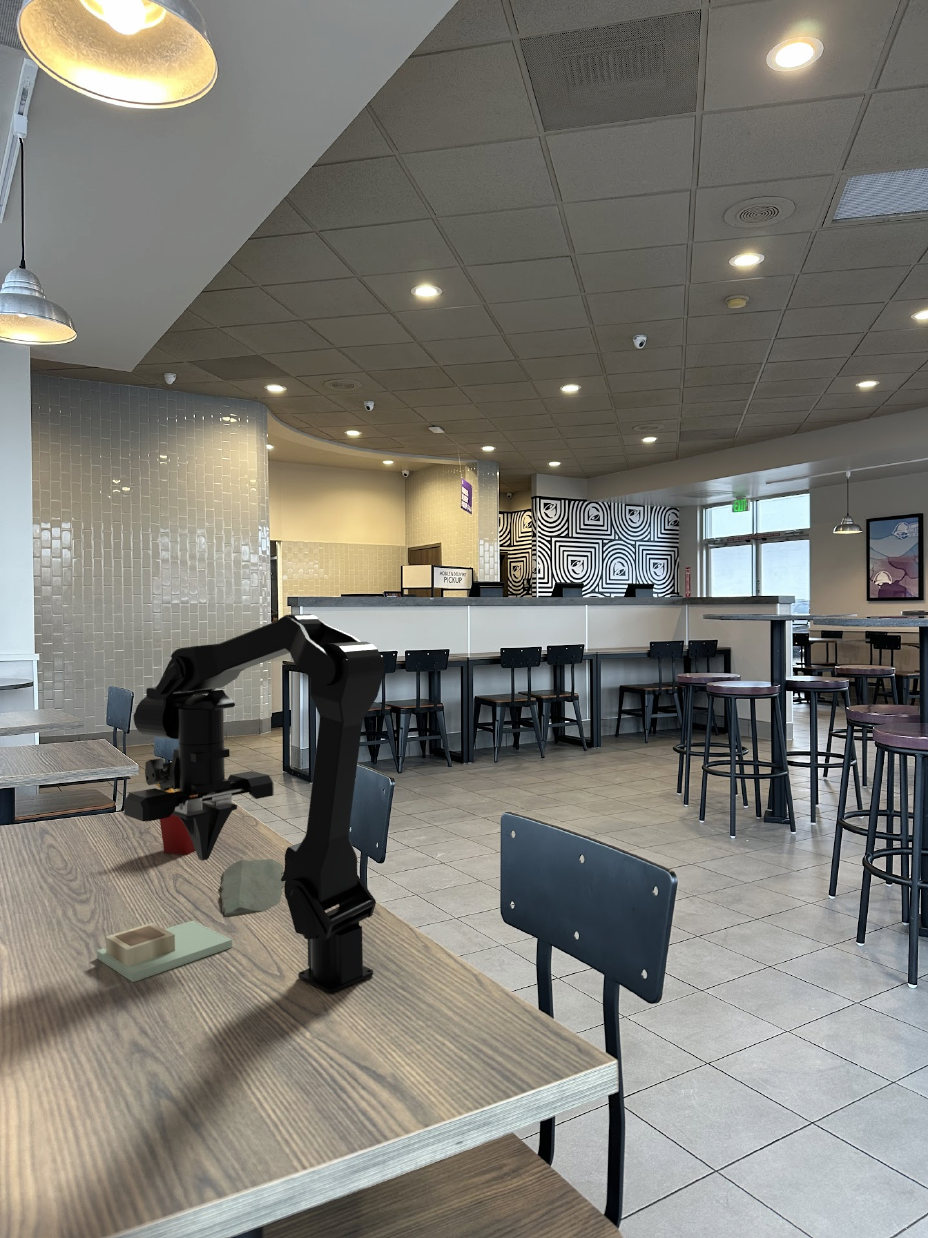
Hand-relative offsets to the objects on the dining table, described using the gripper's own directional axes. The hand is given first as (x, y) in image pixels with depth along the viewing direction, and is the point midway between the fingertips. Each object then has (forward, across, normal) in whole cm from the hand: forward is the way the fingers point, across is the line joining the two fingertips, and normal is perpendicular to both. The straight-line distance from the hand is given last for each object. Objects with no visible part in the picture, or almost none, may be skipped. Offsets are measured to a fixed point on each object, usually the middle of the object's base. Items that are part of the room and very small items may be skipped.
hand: (203, 859), depth 107 cm
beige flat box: (+8, +6, 0) cm, 10 cm away
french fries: (+11, -20, -40) cm, 46 cm away
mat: (+10, +6, 0) cm, 12 cm away
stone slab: (+11, -15, -12) cm, 23 cm away
